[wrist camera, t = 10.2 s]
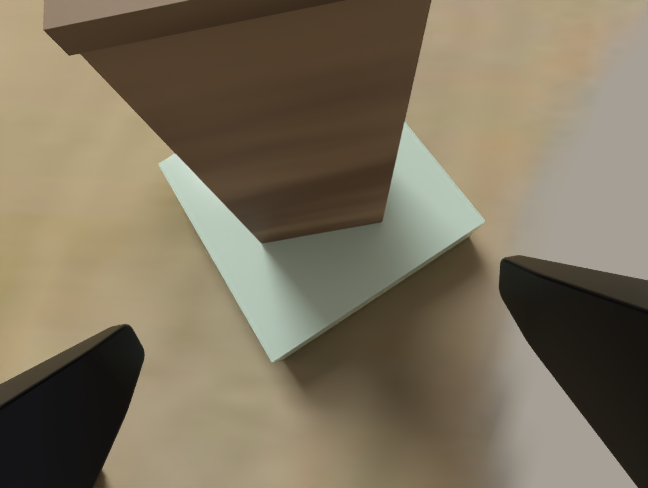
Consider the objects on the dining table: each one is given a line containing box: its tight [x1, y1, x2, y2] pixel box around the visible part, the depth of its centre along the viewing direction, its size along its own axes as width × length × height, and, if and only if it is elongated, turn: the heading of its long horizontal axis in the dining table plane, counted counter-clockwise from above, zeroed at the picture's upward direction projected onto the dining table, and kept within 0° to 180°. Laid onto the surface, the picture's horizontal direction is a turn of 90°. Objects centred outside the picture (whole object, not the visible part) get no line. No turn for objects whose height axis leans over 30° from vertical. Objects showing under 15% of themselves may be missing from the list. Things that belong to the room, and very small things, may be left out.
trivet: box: [158, 122, 485, 363], centre depth 19 cm, size 11×11×2 cm
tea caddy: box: [43, 0, 431, 244], centre depth 12 cm, size 4×6×12 cm
